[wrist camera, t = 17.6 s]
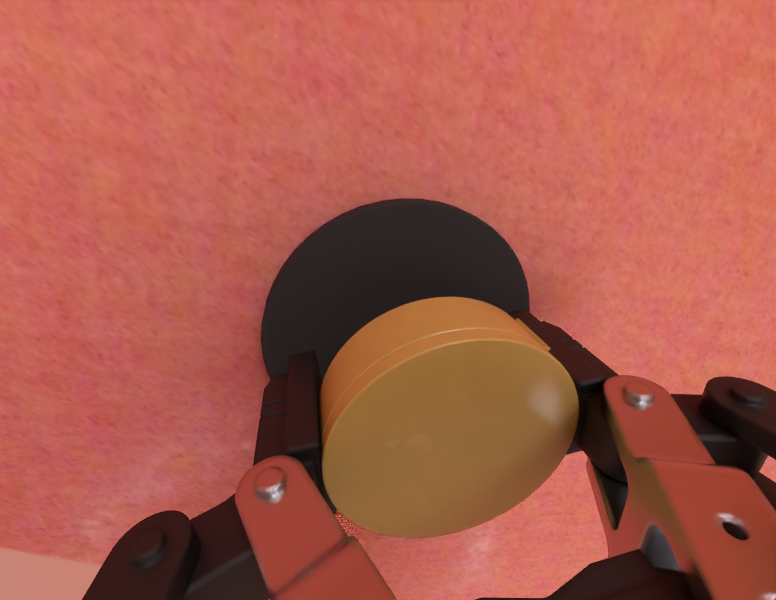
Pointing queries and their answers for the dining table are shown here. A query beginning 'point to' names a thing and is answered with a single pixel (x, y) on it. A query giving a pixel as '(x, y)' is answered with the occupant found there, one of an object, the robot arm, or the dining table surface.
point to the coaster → (383, 275)
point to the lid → (441, 418)
